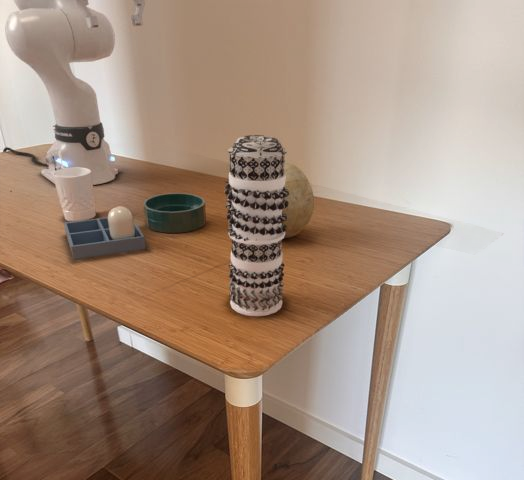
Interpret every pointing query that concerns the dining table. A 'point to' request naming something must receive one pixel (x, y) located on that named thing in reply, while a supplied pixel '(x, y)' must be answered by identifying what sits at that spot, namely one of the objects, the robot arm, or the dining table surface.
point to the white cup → (75, 193)
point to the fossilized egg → (297, 200)
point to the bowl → (174, 212)
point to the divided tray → (99, 239)
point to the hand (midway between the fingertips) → (116, 26)
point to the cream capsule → (121, 223)
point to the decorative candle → (256, 224)
